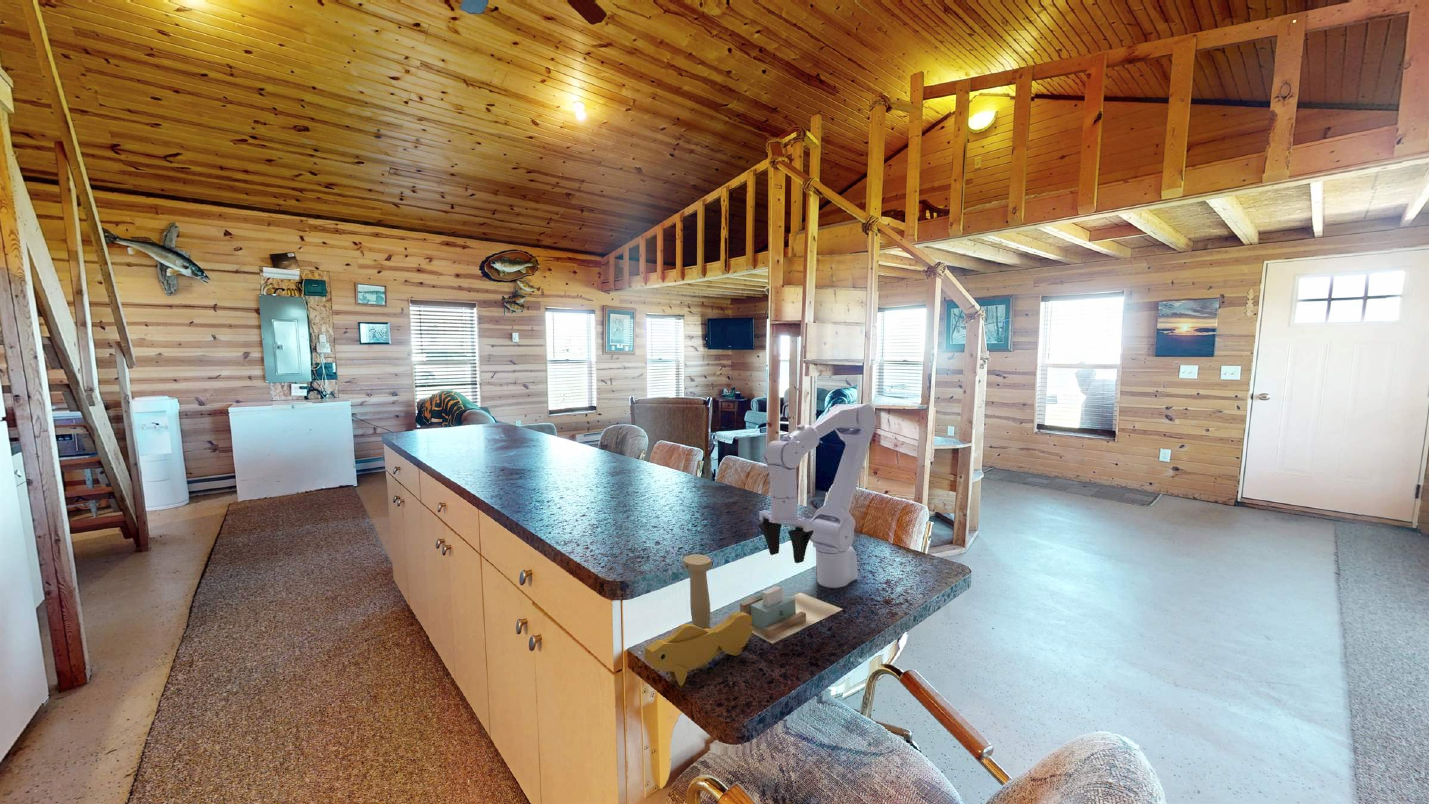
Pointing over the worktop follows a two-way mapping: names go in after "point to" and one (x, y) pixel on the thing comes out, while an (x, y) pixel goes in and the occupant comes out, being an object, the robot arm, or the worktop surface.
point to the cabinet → (772, 608)
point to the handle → (699, 589)
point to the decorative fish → (698, 645)
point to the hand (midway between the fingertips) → (786, 557)
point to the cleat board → (792, 617)
